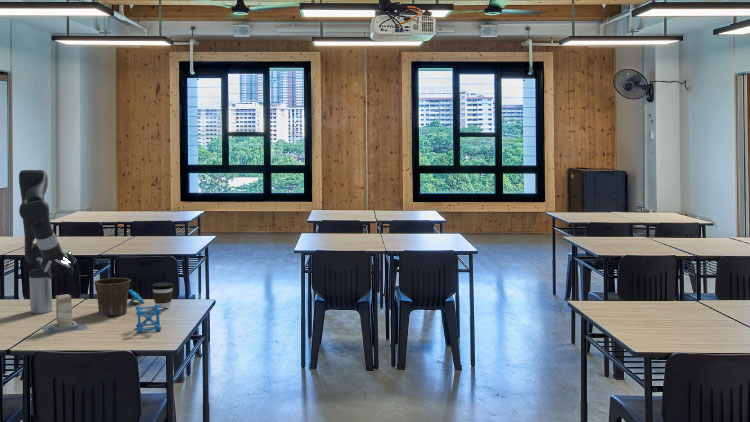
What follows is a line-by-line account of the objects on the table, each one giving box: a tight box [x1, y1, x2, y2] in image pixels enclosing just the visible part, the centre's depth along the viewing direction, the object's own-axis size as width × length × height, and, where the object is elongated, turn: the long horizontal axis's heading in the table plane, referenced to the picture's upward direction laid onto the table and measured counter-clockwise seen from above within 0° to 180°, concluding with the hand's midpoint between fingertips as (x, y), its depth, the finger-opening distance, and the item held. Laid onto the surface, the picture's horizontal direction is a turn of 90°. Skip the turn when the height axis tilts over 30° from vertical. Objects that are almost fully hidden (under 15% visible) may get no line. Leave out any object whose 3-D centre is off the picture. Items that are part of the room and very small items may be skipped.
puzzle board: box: [40, 320, 90, 336], centre depth 267 cm, size 16×16×2 cm
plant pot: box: [93, 277, 131, 317], centre depth 295 cm, size 16×16×16 cm
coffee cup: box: [150, 281, 175, 308], centre depth 307 cm, size 11×11×12 cm
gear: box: [128, 288, 145, 304], centre depth 317 cm, size 11×6×10 cm
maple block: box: [55, 294, 73, 327], centre depth 267 cm, size 5×5×14 cm
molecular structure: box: [135, 304, 162, 334], centre depth 269 cm, size 10×10×10 cm
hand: (61, 275), depth 264 cm, fingers open, 8 cm apart
